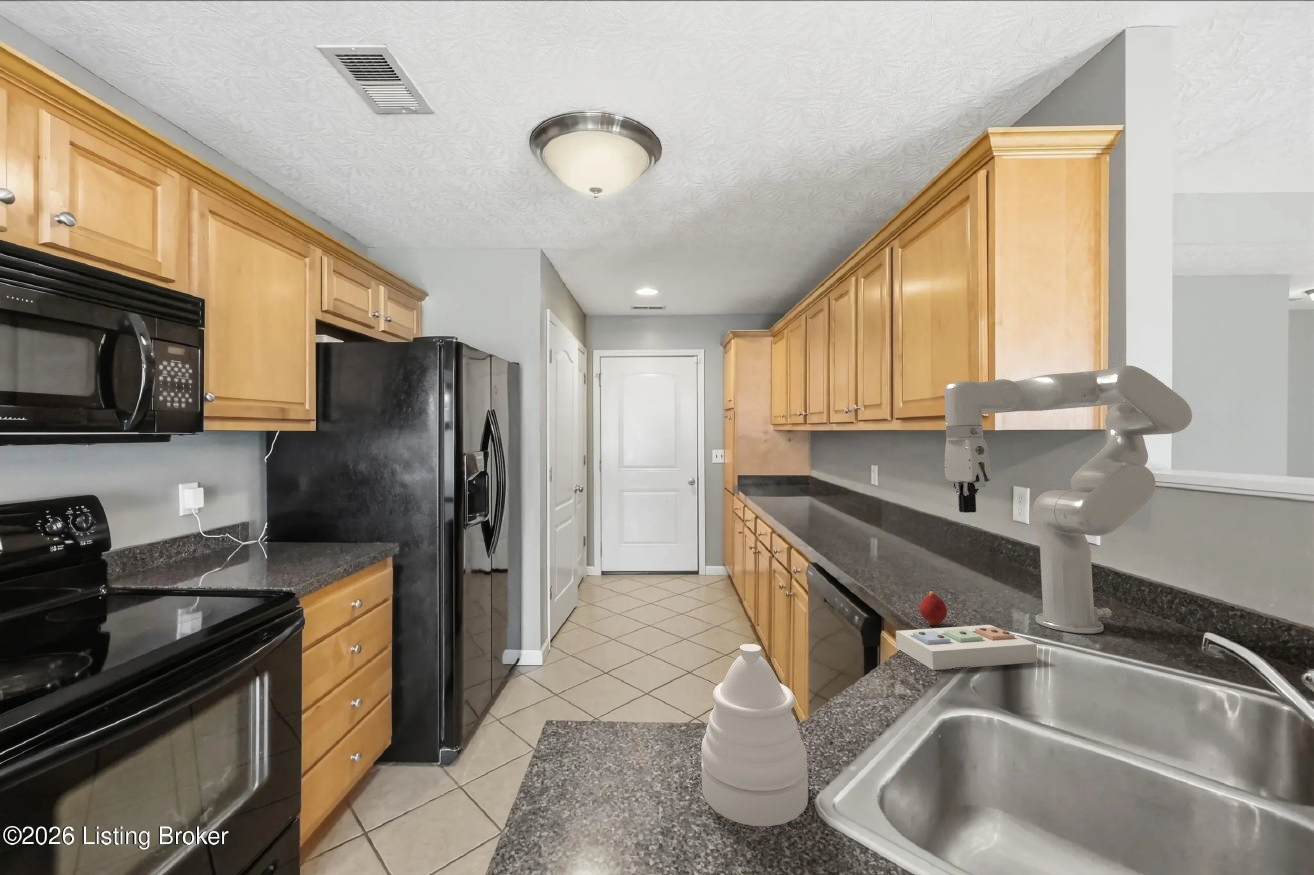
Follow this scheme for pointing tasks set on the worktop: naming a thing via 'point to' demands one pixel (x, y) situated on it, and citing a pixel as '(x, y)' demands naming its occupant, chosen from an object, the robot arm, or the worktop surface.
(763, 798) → the honey pot
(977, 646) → the key board
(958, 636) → the key one
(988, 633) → the key three
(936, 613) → the onion
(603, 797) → the worktop surface
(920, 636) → the key two
